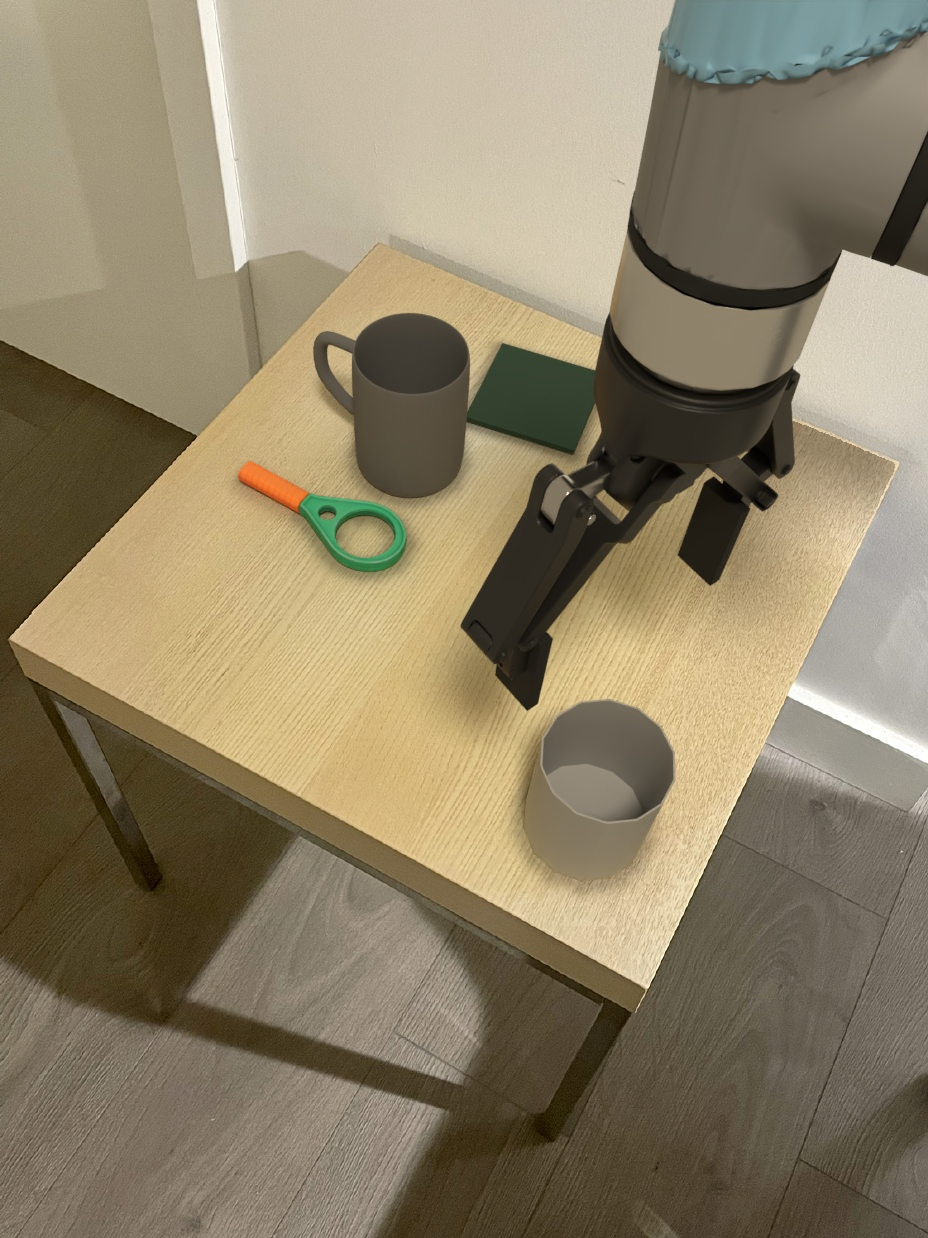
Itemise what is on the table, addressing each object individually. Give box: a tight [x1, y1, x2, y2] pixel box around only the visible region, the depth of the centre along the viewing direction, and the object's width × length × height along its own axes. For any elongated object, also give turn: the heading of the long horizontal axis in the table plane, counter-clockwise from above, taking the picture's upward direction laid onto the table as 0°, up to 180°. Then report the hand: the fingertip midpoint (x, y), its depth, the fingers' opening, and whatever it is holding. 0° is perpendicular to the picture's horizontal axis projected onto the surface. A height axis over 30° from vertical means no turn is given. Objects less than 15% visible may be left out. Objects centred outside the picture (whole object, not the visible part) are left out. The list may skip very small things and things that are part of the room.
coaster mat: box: [466, 342, 596, 456], centre depth 95 cm, size 10×10×1 cm
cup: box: [523, 698, 676, 882], centre depth 70 cm, size 8×8×10 cm
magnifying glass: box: [237, 460, 407, 573], centre depth 86 cm, size 15×6×2 cm, turn 59°
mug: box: [312, 312, 471, 499], centre depth 86 cm, size 14×9×12 cm
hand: (610, 626), depth 59 cm, fingers open, 13 cm apart
